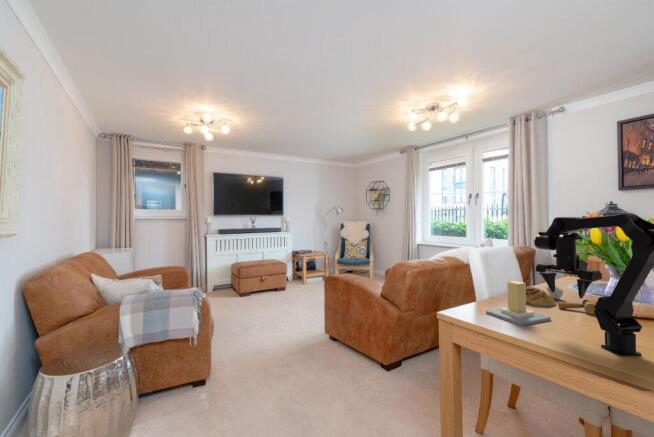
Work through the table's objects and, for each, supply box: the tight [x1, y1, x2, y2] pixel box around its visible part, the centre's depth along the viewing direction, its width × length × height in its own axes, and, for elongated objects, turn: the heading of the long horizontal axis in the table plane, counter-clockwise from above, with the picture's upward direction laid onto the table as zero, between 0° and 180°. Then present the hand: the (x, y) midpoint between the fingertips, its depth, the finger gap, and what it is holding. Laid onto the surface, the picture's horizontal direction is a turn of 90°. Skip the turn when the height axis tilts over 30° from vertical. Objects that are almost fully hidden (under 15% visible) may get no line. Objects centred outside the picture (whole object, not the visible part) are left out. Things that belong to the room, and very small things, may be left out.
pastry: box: [526, 285, 558, 307], centre depth 142 cm, size 13×15×8 cm
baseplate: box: [485, 306, 552, 327], centre depth 122 cm, size 16×16×3 cm
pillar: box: [507, 280, 527, 313], centre depth 122 cm, size 4×4×13 cm
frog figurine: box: [545, 285, 564, 300], centre depth 146 cm, size 6×7×7 cm
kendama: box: [557, 298, 597, 315], centre depth 127 cm, size 8×6×18 cm
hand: (566, 295), depth 106 cm, fingers open, 9 cm apart
